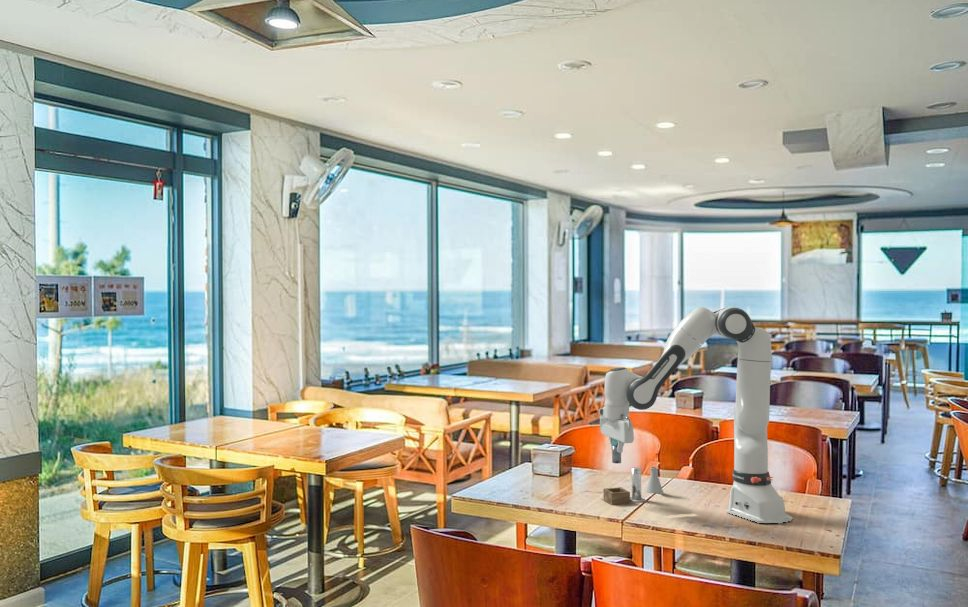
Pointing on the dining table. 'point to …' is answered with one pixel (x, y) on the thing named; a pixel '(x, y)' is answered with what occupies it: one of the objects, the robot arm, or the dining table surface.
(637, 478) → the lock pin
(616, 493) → the box
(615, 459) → the small bottle
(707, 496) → the dining table surface
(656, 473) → the flask
